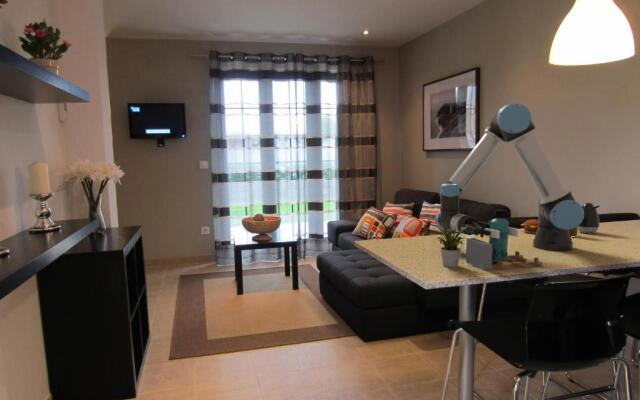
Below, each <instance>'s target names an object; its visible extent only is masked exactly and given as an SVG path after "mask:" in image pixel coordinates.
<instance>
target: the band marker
mask: <svg viewBox="0 0 640 400" xmlns="http://www.w3.org/2000/svg"><path fill="white" fill-rule="evenodd" d="M501 264H503V265H509V264H511V262H509V261H505V262H501Z"/></svg>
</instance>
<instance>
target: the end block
mask: <svg viewBox="0 0 640 400" xmlns="http://www.w3.org/2000/svg"><path fill="white" fill-rule="evenodd" d="M465 239H466V240H465V242H466V243H465V245H466V246H465V263H466V264H469V265H471V266H474V267H475V268H478V269H480V270H483V271H491V270H492V264H493V263H492V244H490V243H489V242H487V241H483V240H480V239H479V238H475V237H470V238H468V237H465Z"/></svg>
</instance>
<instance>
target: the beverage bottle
mask: <svg viewBox="0 0 640 400" xmlns="http://www.w3.org/2000/svg"><path fill="white" fill-rule="evenodd" d="M493 216H499V217H506V216H507V210H505V209H494V212H493ZM489 223H490V229H493V230H498V231H500V236H499V239H497V238H493V237H489V236H488V243H490V244H492V261H493V262H496V260H500V261H501V262H507V261H506V258H507V256H508V254H507V252H508V244H509V243H508V242H509V240H508V239H509V235H508V227H509V224H510V223H509V221H508V220H507V219H506V218H493V219H491V220H490V221H489Z"/></svg>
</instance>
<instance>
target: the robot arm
mask: <svg viewBox="0 0 640 400" xmlns="http://www.w3.org/2000/svg"><path fill="white" fill-rule="evenodd" d="M536 129H537V128H536V126H535V125H534V122H533V121H532V114H531V111H530V110H529V108H528V107H527V106H525V105H524V104H523V103H517V102H512V103H508V104H505V105H503V107H501V108H499V109H498V110H496V112H495V114H494V115H493V117H492V119H491V121H490V123H489V124H488V125H487V127H486V128H485V129H484V134H483V135H482V136H481V138H480V140H479V141H478V142H477V143H476V145H475V146H474V148H473V149H472V150H471V151H470V152H469V154H468V155H467V156H466V158H465V159H464V160H463V162H461V164H460V165H459V166H458V168H457V169H456V170H455V172H454V173H453V175H452V176H451V177H450V178H449V180H448V181H447V182H446V183H442V184H441V185H440V191H439V198H440V208H439V209H440V211H438V212H437V213H436V215H435V217H434V221H435V222H434V223H435V225H436V227H437V226H438V227H439V228H441V229H443V228H442V225H443V224H444V225H445V226H446V229H447V231H450V230H452V229H453V228H454V229H455V225H456V233H458V232H459V231H461V230H462V229H463V228H465V227H466V228H465V229H464V230H463V231H462V232H461V233H460V235H462V234H463V235H467V236H472V235H475V236H479V235H480V238H484V237H488V238H489V237H493V238H497V239H499V236H500V231H498V230H493V229H490V221H488V222H484V221H483V222H482V221H480V220H479V221H478V219H477V217H475V216H473V215H466V214H463V213H460V195H461V194H462V192H463V191H464V190H465V188H466V187H467V185H468V184H469V183H470V182H471V181H472V179H474V177H475V176H476V175H477V174H478V172H479V171H480V170H481V169H482V168H483V166H484V164H485V163H486V162H487V161H488V160H489V158H490V157H491V156H492V155H493V154H494V152H495V151H496V150H497V148H498V147H499V146H500V144H505V142H506V143H507V144H510V145H512V146H513V148H514V150H515V151H516V153H517V155H518V157H519V159H520V161H521V163H522V164H523V166H524V168H525V170H526V171H527V173H528V175H529V177H530V179H531V181H532V183H533V184H534V186H535V188H536V190H537V192H538V193H539V198H538V230H537V233H536V234H534V238H533V239H532V240H533V241H532V246H533V247H534V248H537V249H542V250H548V251H571V250H573V249H572V248H574V243H573V240H572V239H573V238H571V236H570V232H569V229H572V228H575V227H577V226H578V225H579V224H580V223H581V222H582V220H583V218H584V210H583V208H582V205H581V204H580V203H579V202H578V201H577V200H575V199H576V198H575V197H574V196H573V194H572V192H571V190H570V189H568V188H565V187H564V186H563V185H562V183H561V181H560V179H559V177H558V175H557V174H556V172H555V170H554V168H553V166H552V164H551V163H550V160H549V159H548V157H547V156H546V155H547V154H546V153H545V151H544V150H543V148H542V147H541V144H540V142H539V141H538V139H537V137H536V135H535V132H536ZM442 223H443V224H442ZM452 223H453V224H452ZM444 225H443V226H444ZM451 226H452V229H451ZM467 226H468V227H467ZM444 228H445V227H444ZM454 229H453V231H452V232H454ZM508 236H510V237H511V236H512V237H515V238H518V237H519V229H518V228H515V227H509V226H508ZM570 249H571V250H570Z"/></svg>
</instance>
